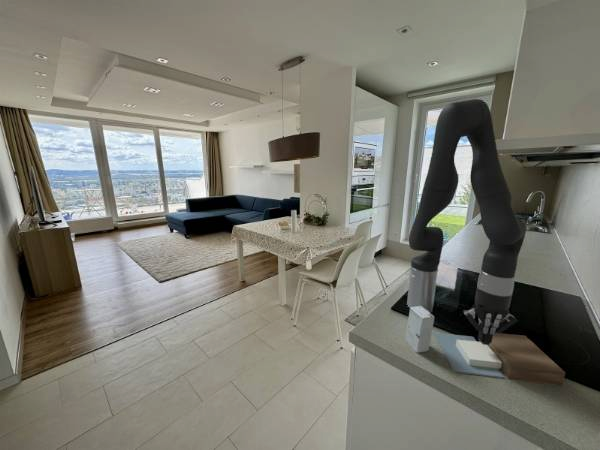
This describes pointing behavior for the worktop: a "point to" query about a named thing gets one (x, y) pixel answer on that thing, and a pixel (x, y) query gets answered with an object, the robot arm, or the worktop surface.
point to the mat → (457, 359)
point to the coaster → (478, 354)
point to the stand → (525, 360)
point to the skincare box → (419, 329)
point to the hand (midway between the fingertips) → (483, 342)
